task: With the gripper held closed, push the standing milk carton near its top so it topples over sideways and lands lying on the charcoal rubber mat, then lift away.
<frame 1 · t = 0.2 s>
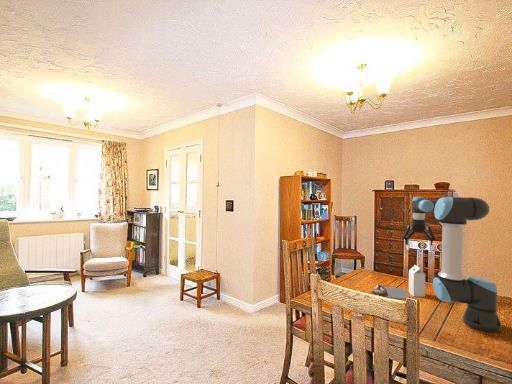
hand: (418, 250, 188), 28 cm above the table, fingers open, 13 cm apart
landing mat: (393, 293, 182), on the table
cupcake: (379, 302, 167), on the table
milk carton: (416, 295, 179), on the table
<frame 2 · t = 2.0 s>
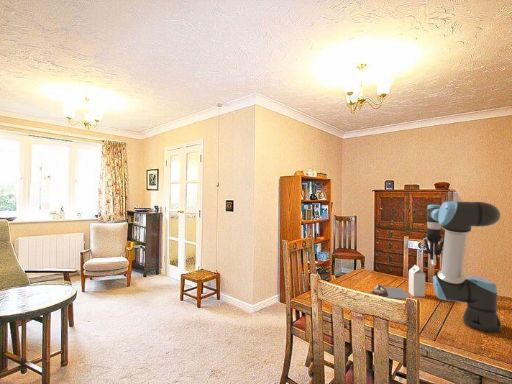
hand: (433, 264, 178), 20 cm above the table, fingers closed
nothing on the table moved.
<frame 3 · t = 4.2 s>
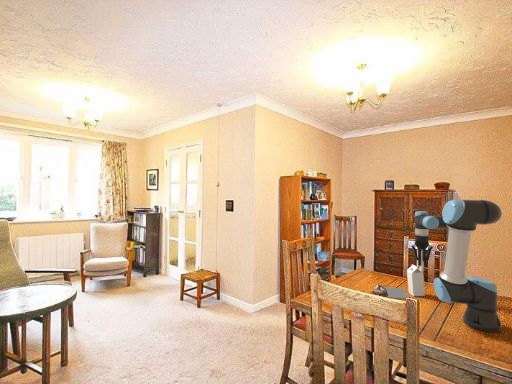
hand: (421, 270, 179), 16 cm above the table, fingers closed
milk carton: (416, 294, 179), on the table, touching gripper
everything else where it was.
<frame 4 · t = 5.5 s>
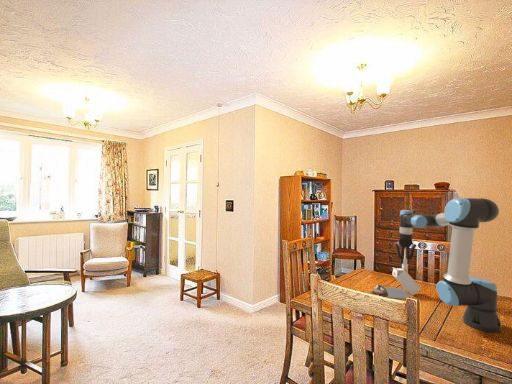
hand: (404, 268, 181), 17 cm above the table, fingers closed
milk carton: (415, 291, 179), point 2 cm above the table, touching gripper
everything else where it was.
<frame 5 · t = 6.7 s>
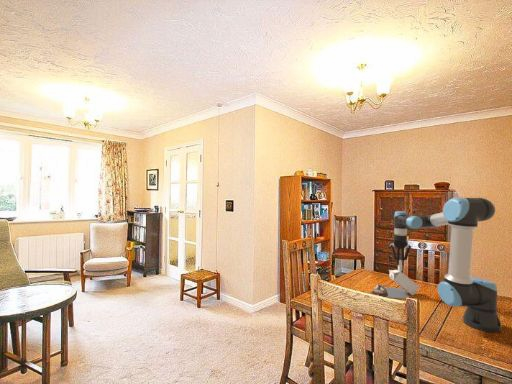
hand: (399, 270, 181), 16 cm above the table, fingers closed
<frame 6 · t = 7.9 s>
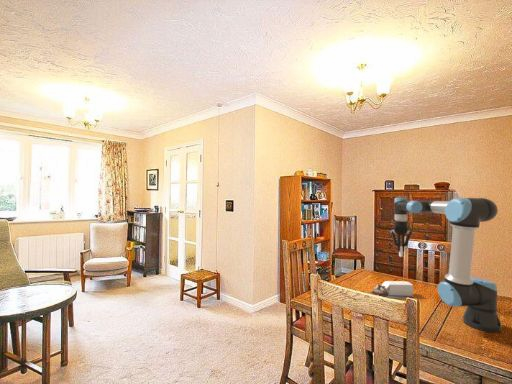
hand: (400, 256, 181), 25 cm above the table, fingers closed
milk carton: (410, 288, 180), point 4 cm above the table, touching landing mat
everything else where it was.
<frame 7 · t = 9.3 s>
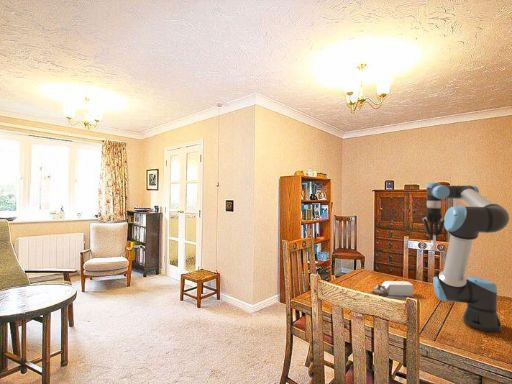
hand: (433, 245, 170), 34 cm above the table, fingers closed
nothing on the table moved.
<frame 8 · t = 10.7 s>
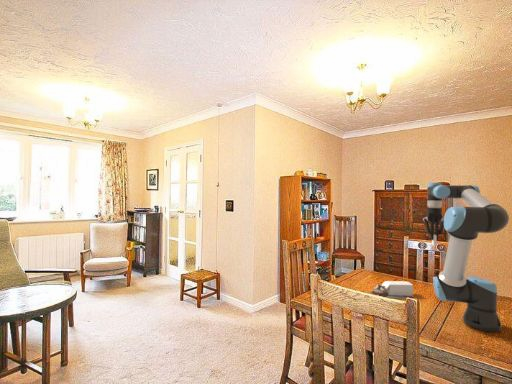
hand: (434, 245, 170), 34 cm above the table, fingers closed
nothing on the table moved.
at the end: milk carton tilted 90°; milk carton touching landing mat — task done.
